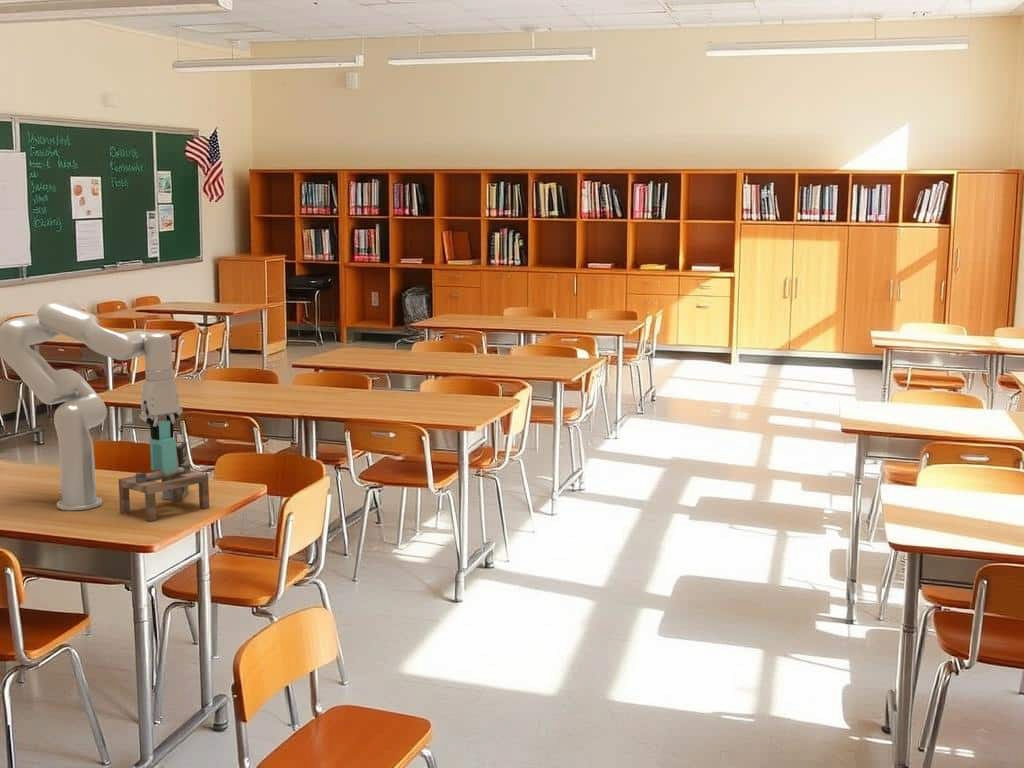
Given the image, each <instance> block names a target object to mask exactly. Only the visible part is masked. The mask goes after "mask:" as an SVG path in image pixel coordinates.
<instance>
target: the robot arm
mask: <svg viewBox="0 0 1024 768" xmlns="http://www.w3.org/2000/svg"><path fill="white" fill-rule="evenodd" d="M99 323H100V321H99V318H98V317H97V315H95V314H93V313H90V312H87V311H84V310H83V309H82V307H81V306H80V304H79V303H77V302H76V301H74V300H71V299H66V298H65V299H57V300H50V301H46V302H45V303H43V304H42V305H41V306H40V307H39V308H38V310H37V312H36V314H34V315H28V316H20V317H15V318H12V319H11V318H10V319H8V320H7V321H5V322H4V323H2V324H1V326H0V356H1V357H2V359H3V361H4V362H5V363H7V365H8V366H9V367H10V368H11V369H12V370H13V371H14V372H15V373H16V374H17V375H18V376H19V378H20V379H21V380H22V382H23V383H24V384H25V385H26V386H27V387H28V389H30V391H31V392H32V393H33V395H34V396H36V398H37V399H38V400H39V401H41V402H42V403H43V404H45V405H55V404H60V403H61V404H60V405H59V406H58V407H57V408H56V410H55V412H54V415H53V416H54V417H53V423H54V427H55V432H56V435H57V439H58V440H57V441H58V453H59V468H60V485H61V486H60V487H61V488H60V489H61V490H59V491H58V495H59V496H61V500H59V501H57V502H56V508H57V509H59V510H62V511H83V510H89V509H95V508H97V507H100V506H101V505H102V504H103V499H102V498H100V497H97V487H96V486H97V485H96V483H97V481H96V466H95V465H96V464H95V452H94V451H95V450H94V442H93V438H92V436H91V433H90V431H89V430H90V429H92V428H95V427H98V426H100V425H101V424H102V423H103V422H104V421H105V420H106V419H107V415H108V413H107V412H108V409H107V406H106V404H105V402H104V400H103V399H102V398H101V397H100V395H98V393H97V392H96V391H95V390H94V389H93V387H92V386H91V385H90V384H89V383H88V382H87V381H86V380H85V378H84V377H83V376H82V375H81V374H80V373H79V372H77V371H75V370H73V369H71V368H60V369H54V368H53V367H52V365H50V364H49V363H48V362H47V361H46V358H44V357H43V356H42V355H41V354H39V352H36V351H35V350H34V349H32V348H31V347H30V346H32V345H33V346H34V345H37V344H43V343H45V342H48V341H49V340H51V339H53V338H54V339H55V338H56V337H58V336H60V335H63V336H65V337H67V338H71V339H74V340H76V341H79V342H82V343H84V345H85V346H86V347H88V348H89V349H90V350H92V351H93V352H95V353H97V354H99V355H102V356H105V357H107V358H110V359H114V360H118V361H127V360H131V359H135V358H140V357H144V369H145V380H144V381H143V383H142V387H141V393H140V395H141V397H140V408H141V409H140V410H141V411H140V413H139V415H138V417H139V419H140V420H142V421H143V422H145V423H146V424H147V425H148V426H149V429H150V430H149V431H150V438H151V439H154V440H159V439H160V436H159V426H157V421H159V420H158V419H159V416H164V417H165V420H169V421H170V432H171V438H174V433H175V432H174V424H175V423H176V420H177V418H179V416H180V415H181V414H182V413H183V412H184V410H183V408H182V407H181V405H180V400H179V392H178V386H177V383H176V379H175V378H174V375H176V374H177V370H176V369H173V366H174V365H173V348H172V346H173V345H172V335H171V334H170V333H168V332H162V331H160V332H147V331H144V330H133V331H128V332H123V333H119V332H115V331H112V330H110V329H107V328H104V327H102V326H101V325H100V324H99Z"/></svg>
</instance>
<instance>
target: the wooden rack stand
mask: <svg viewBox="0 0 1024 768" xmlns="http://www.w3.org/2000/svg"><path fill="white" fill-rule="evenodd" d="M166 478H168V479H172V480H169V481H165V482H162V479H166ZM160 480H161V481H160ZM193 485H198V499H199V500H198V502H199V505H198V506H199V509H203V510H205V509H210V493H209V492H210V487H209V474H207V473H203V472H199V471H195V470H191V464H189V463H187V464H181V465H180V468H179V467H177V471H175V472H170V473H163V470H162V471H161V470H156V471H153V472H143V471H142V472H137V473H135V475H133V476H128V477H121V478H118V497H119V513H120V514H122V515H127V514H131V503H130V500H131V499H130V498H131V497H130V490H131V491H135V492H139V493H142V494H144V502H145V505H144V507H145V520H146V521H147V522H150V523H151V522H155V521H157V504H156V502H157V500H156V493H162V491H166V490H171V489H173V499H172V500H174V501H173V502H176V501H179V502H182V500H183V501H184V498H183V490H182V487H184V486H188V487H189V486H193Z"/></svg>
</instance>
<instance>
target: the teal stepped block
mask: <svg viewBox="0 0 1024 768" xmlns="http://www.w3.org/2000/svg"><path fill="white" fill-rule="evenodd" d="M157 426H159V436H160V439H159V440H154V439H151V437H149V451H150V469H151V471H153V472H156V471H161V469H163V473H170V472H175V471H177V460H176V442H177V441H176V440H177V439H176V438H174V437H172V438H171V432H170V421H169V420H166V419H164V420H163V419H162V420H158V421H157Z"/></svg>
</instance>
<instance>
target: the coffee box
mask: <svg viewBox="0 0 1024 768" xmlns="http://www.w3.org/2000/svg"><path fill="white" fill-rule="evenodd" d="M187 445H188V442H187V441H176V460H177V467H179V468H180V465H181V464H188V446H187ZM162 470H163V469H160V471H162ZM169 480H172V479H168V478H166V479H161V482H165V481H169ZM182 490H183V499H184V498H185V496H187V494H188V493H189V490H190V489H189V486H184V487H182ZM161 495H162V496H161V499H162V500H173V489H171V490H166V491H162V492H161Z"/></svg>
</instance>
